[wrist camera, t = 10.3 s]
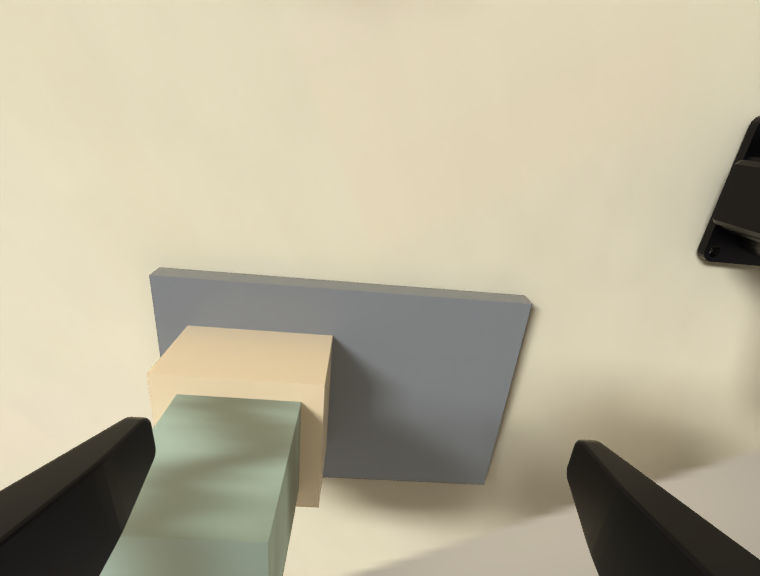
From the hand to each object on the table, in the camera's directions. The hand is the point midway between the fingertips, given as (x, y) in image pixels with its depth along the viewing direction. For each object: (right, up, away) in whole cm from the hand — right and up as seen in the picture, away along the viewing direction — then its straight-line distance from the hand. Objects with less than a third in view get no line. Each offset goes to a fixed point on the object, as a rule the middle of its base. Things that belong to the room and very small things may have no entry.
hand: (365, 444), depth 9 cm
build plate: (-2, -2, +14) cm, 14 cm away
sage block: (-6, -3, +9) cm, 11 cm away
